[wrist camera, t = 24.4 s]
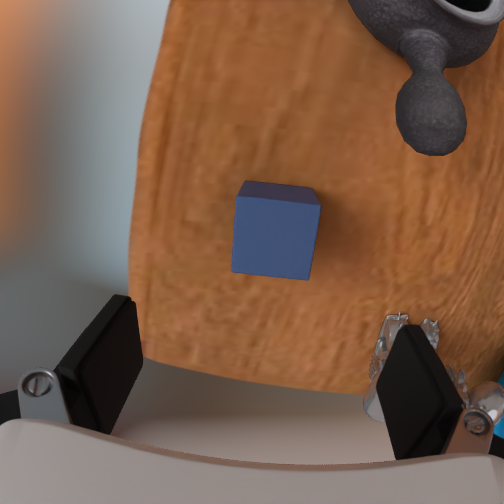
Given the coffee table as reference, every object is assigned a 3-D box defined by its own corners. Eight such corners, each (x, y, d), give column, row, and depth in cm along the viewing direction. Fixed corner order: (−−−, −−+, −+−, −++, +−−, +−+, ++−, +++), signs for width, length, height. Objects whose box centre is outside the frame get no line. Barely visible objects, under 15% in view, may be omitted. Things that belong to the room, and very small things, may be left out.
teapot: (299, -79, 14) (307, -153, 4) (471, -28, 13) (534, -62, 4) (281, 127, 21) (286, 129, 12) (468, 165, 21) (550, 196, 11)
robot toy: (479, 326, 27) (546, 428, 13) (451, 370, 29) (500, 473, 15) (365, 302, 26) (419, 447, 12) (339, 354, 29) (365, 495, 15)
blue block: (244, 180, 23) (236, 195, 18) (312, 187, 23) (321, 205, 18) (239, 243, 25) (230, 272, 20) (303, 250, 25) (308, 281, 20)
